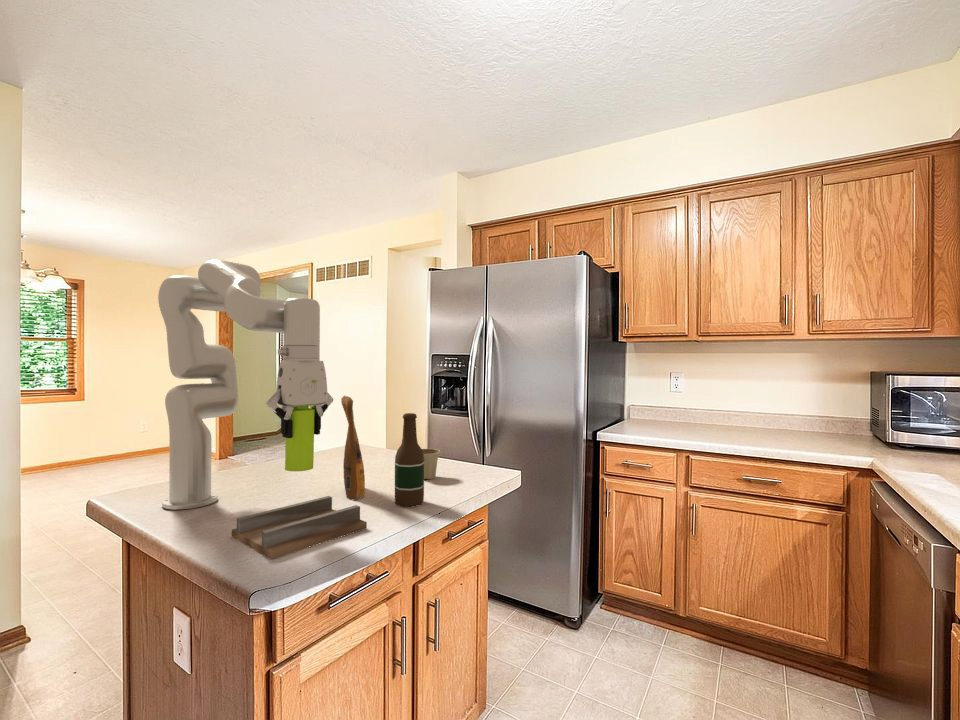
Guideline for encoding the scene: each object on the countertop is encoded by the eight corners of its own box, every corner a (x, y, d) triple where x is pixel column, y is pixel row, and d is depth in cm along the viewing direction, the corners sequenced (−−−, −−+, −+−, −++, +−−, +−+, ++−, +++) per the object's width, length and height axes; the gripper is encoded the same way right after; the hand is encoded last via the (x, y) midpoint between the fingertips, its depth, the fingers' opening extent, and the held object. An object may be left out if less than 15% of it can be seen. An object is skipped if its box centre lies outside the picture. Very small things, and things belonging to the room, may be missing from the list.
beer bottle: (411, 509, 121) (411, 416, 121) (388, 504, 125) (388, 414, 125) (429, 502, 127) (430, 413, 127) (407, 497, 131) (408, 411, 131)
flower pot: (407, 480, 150) (407, 453, 150) (416, 473, 159) (416, 448, 159) (435, 481, 148) (436, 454, 148) (443, 474, 158) (443, 449, 158)
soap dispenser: (308, 472, 101) (310, 379, 101) (279, 470, 102) (281, 378, 102) (322, 467, 106) (324, 378, 107) (295, 465, 108) (297, 377, 108)
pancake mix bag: (339, 503, 126) (340, 398, 126) (340, 485, 144) (341, 393, 144) (365, 501, 127) (366, 398, 128) (363, 483, 146) (363, 393, 146)
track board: (231, 536, 102) (231, 515, 102) (323, 511, 119) (323, 493, 119) (271, 559, 90) (271, 535, 90) (366, 528, 107) (366, 508, 107)
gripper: (271, 353, 95) (271, 442, 95) (345, 354, 109) (344, 433, 108) (254, 354, 100) (254, 438, 100) (327, 354, 113) (326, 429, 113)
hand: (301, 434), depth 104 cm, fingers closed on soap dispenser, 5 cm apart
